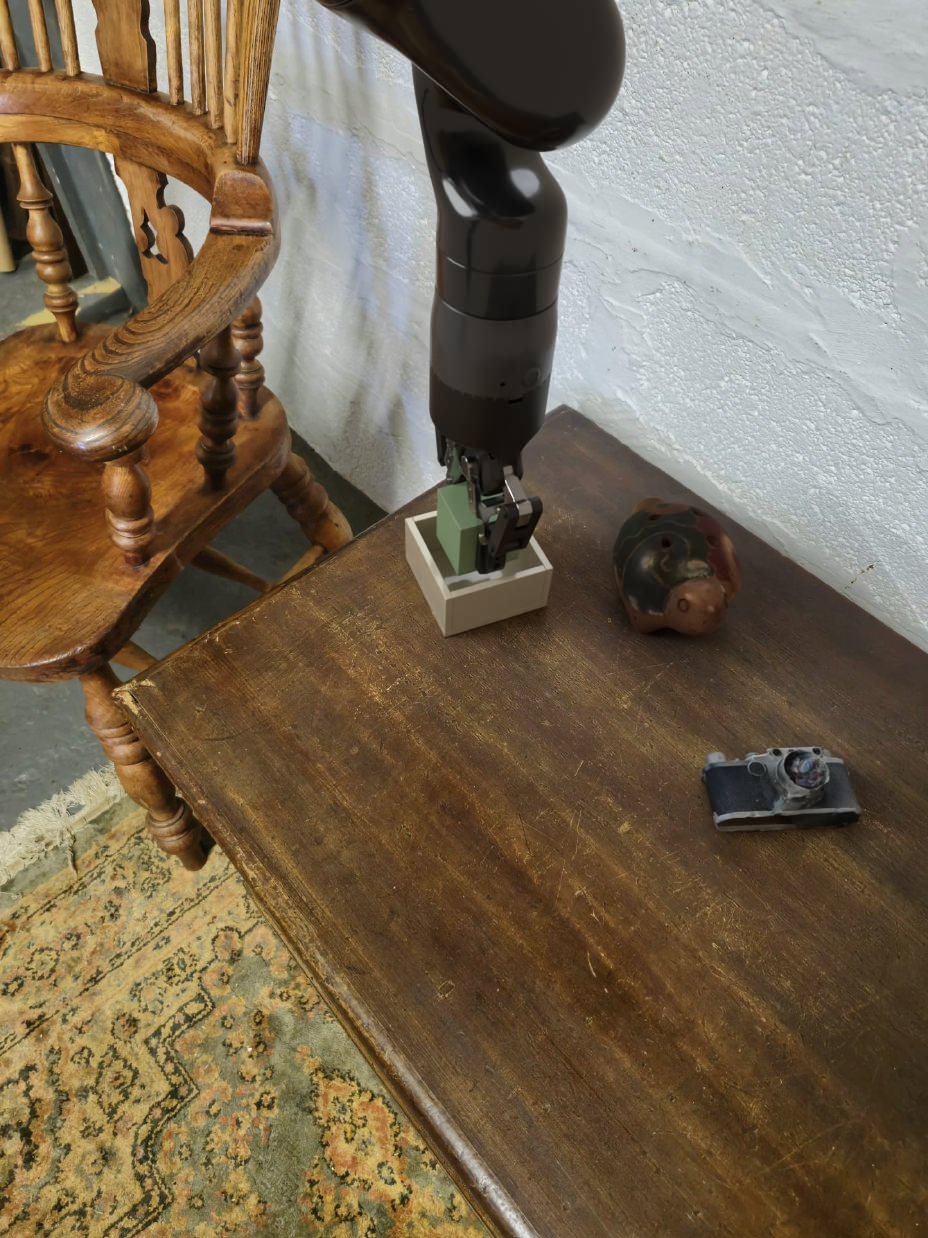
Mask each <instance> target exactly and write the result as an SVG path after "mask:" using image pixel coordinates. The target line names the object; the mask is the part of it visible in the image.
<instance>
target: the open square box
mask: <svg viewBox="0 0 928 1238" xmlns="http://www.w3.org/2000/svg"><path fill="white" fill-rule="evenodd" d="M404 533H405V534H404V535H405V536H404V537H405V559H406V561H407V563H408V565H409V567H410V570H411V572H412V574H413V576H414V578H415V580H416V582H417V583H418V586H419V588H420V590H421V592H422V594H423V596H424V598H425V601H426V602H427V605H428V607H429V608H430V610H431V612H432V614H433V617H434V619H435V621H436V623H437V625H438V627H439V629H440V632H441V633H442V636H443V637H444V638H446V637H450V636H453V635H456V634H460V633H463V632H467V631H469V630H472V629H476V628H480V627H483V626H487V625H489V624H493V623H495V622H499V621H502V620H505V619H509V618H512V617H515V616H518V615H521V614H525V613H528V612H532V611H534V610H538V609H541V608H544V607H547V605H548V600H549V598H548V597H549V593H550V588H551V583H552V578H553V572H554V567H553V565H552V564H551V562H550V561H549V559H548V557H547V556H546V554H545V552H544V551H543V549H542V548H541V545H540V544H539V542H538V541H537V539H536V538H535V536H534V534H532V537H531V539H530V541H529V543H528V545H527V547H526V548H525V549H521V550H519V556H518V559H516V560H513V561H509V562H506V563H505V567H504V569H502V570H499V571H495V572H492V573H488V574H483V575H481V574H479V573H478V571H475V572H471V573H468V574H464V575H461V576H458V575H457V573H456V571H455V570H454V568H453V566H452V564H451V562H450V560H449V558H448V556H447V554H446V552H445V551H444V549H443V547H442V545H441V543H440V541H439V539H438V537H437V535H436V534H437V509H436V510H433V511H429V512H426V513H421V514H418V515H414V516H411V517H406V518H405V519H404Z"/></svg>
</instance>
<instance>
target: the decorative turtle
mask: <svg viewBox="0 0 928 1238" xmlns="http://www.w3.org/2000/svg"><path fill="white" fill-rule="evenodd" d="M611 568H612V575H613V579H614V582H615V585H616V588H617V589H618V593H619V596H620V598H621V600H622V602H623V604H624V609H625V611H626V613H627V616H628V619H629V621H630V624H631V627H632V628H633V630H634V631H636V632H637V633H639V634H648V633H651V632H654V631H656V630H659V629H664V628H668V629H672V630H674V631H677V632H678V633H682V634H685V635H689V636H704V635H705V636H706V635H708V634H710V633H713V632H716V631H717V630H718V629H719V628H720V626H721V625H722V623H723V621H724V618H725V616H726V613H727V609H728V607H729V606H730V605H731V604H732V602H733V601H734V600H735V598H736V597H737V595H738V594H739V592H740V589H741V585H742V568H741V562H740V560H739V556H738V552H737V550H736V547H735V545H734V542H733V539H732V538H731V537H730V535H729V533H727V531H726V530H725V528H724V527H723V526H722V525H721V524H720V522H718V521H717V520H716V519H715V518H714V517H713V516H712V515H710V514H709V513H708V512H706V511H705V510H703V509H701V508H698V507H696V506H693V505H690V504H685V503H681V502H666V501H665V499H663V498H660V497H654V496H653V497H647V498H644V499H641V500H640V501H638V502H637V503H636V504H635V505H634V508H633V510H632V515H630V516H629V517H628V518H627V519H626V520H625V521H624V523H623V524H622V525H621V527H620V528H619V530H618V532H617V534H616V537H615V540H614V542H613V547H612V556H611Z"/></svg>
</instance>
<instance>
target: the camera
mask: <svg viewBox="0 0 928 1238" xmlns="http://www.w3.org/2000/svg"><path fill="white" fill-rule="evenodd" d="M744 758H745V759H743V760H740V758H738V757H736V758H734V760H727V758H726V754H724V753H723V752H721V751H717V752H711V753H708V754H707V755H706V756H705V758H704V759H705V763H706V765H705V766H703V767H702V769H701V773H702V774H701V775H700V776H699V780H700V782H701V783H702V784H703V785H704V787H705V790H706V795H707V799H708V803H709V808H710V811H711V814H712V819H713V824H714V825H715V829H716V831H717V832H721V833H745V832H770V831H781V830H789V829H793V830H795V829H796V830H798V829H824V828H840V827H841V828H844V827H847V826H851V825H853V824H856V823H858V822H860V820H861V817H862V814H863V810H862V808H861V805H860V803H859V800H858V798H857V795H856V792H855V789H854V786H853V784H852V781H851V778H850V775H851V774H850V772H849V770H848V768H847V767H846V765H845V761H844V760H843V759H842V758H839V757H832V755H831V752H830V751H829V750H828V749H823V748H822V747H819V746H802V747H801V746H800V747H774V748H773V747H772V748H767V749H766V750H765V751H764V752H763V753H762V754H760V753H759V752H748V753H747V754H746V755H745V756H744Z"/></svg>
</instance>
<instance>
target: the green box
mask: <svg viewBox="0 0 928 1238" xmlns="http://www.w3.org/2000/svg"><path fill="white" fill-rule="evenodd" d="M502 494H503V493H501V494H497V495H493V496H489V497H485V496H482V495H481V500H483V499H487V498H491V497H495V496H499V495H502ZM436 497H437V499H436V505H437V506H436V510H437V534H436V535H437V537H438V539H439V541H440V543H441V545H442V547H443V549H444V551H445V552H446V554H447V556H448V558H449V560H450V562H451V564H452V566H453V568H454V570H455V571H456V573H457V575H458V576H461V575H464V574H468V573H471V572H475V571H477V569H476V568H475V558H476V545H477V536H478V532H477V519H476V516H475V515H474V514H473V513H472V512H471V511H470V509H469V504H468V492H467V481H466V482H462V483H458V484H454V485H450V486H448V485H447V486H443V487H439V488H437V495H436ZM497 516H498V514H496V515H493V516H491V517H490V518H489V525H493V524H495V522H496V519H497ZM518 556H519V550H515V551H512V552H508V553H507V555H506V562H509V561H513V560H516V559H518Z"/></svg>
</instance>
